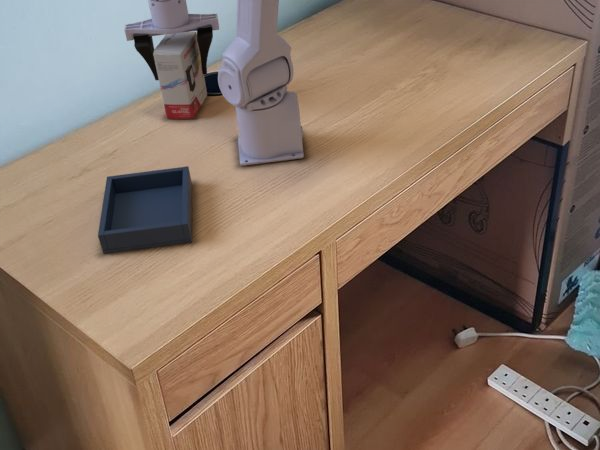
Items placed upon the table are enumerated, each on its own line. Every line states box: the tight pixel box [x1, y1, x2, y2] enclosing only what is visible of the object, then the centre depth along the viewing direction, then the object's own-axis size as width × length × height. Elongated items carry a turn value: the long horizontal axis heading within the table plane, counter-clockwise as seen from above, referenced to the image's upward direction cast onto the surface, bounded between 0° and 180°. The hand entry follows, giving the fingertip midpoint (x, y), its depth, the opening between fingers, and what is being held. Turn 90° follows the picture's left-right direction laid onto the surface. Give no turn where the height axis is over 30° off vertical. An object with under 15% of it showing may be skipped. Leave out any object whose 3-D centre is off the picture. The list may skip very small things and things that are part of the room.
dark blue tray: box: [97, 166, 193, 255], centre depth 107 cm, size 12×14×3 cm
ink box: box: [153, 31, 208, 120], centre depth 129 cm, size 9×5×12 cm, turn 168°
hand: (181, 74), depth 129 cm, fingers open, 7 cm apart
